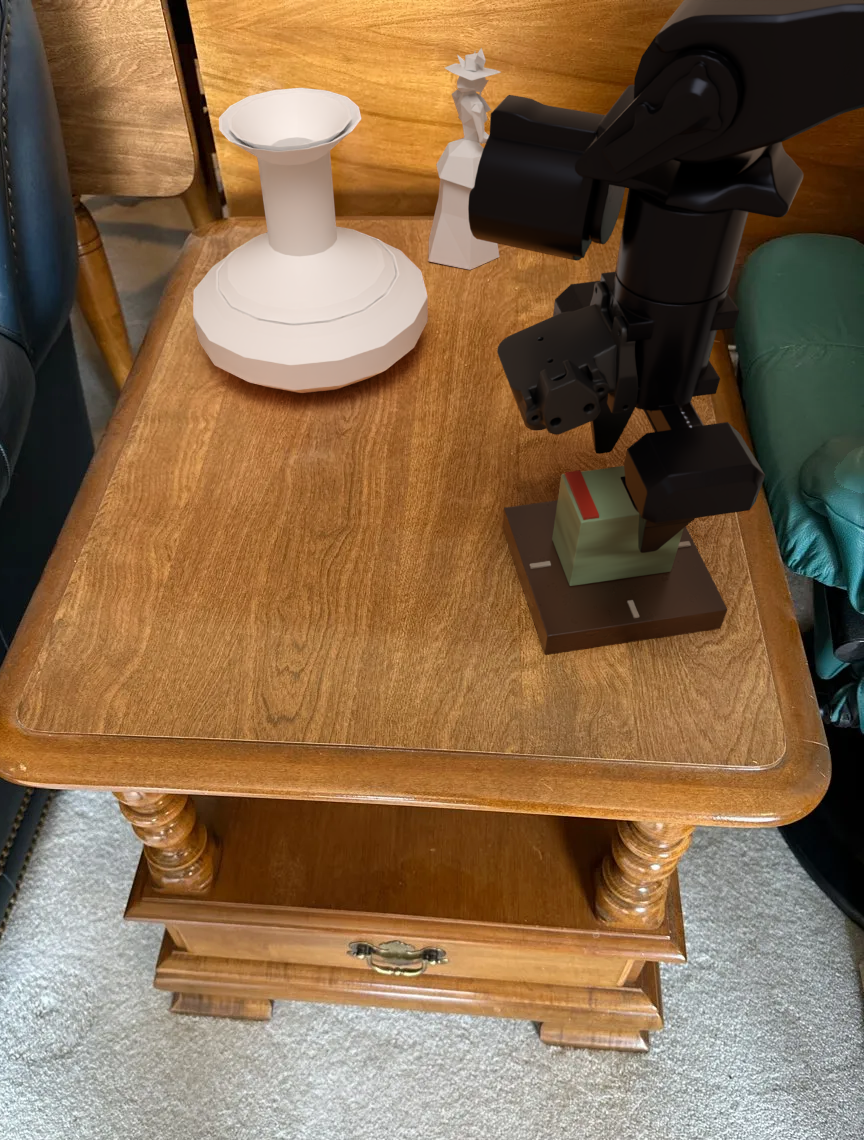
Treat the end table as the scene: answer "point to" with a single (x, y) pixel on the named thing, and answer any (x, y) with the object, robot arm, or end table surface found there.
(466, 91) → the figurine
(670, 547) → the box
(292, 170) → the white vase
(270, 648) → the end table surface
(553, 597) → the plate
